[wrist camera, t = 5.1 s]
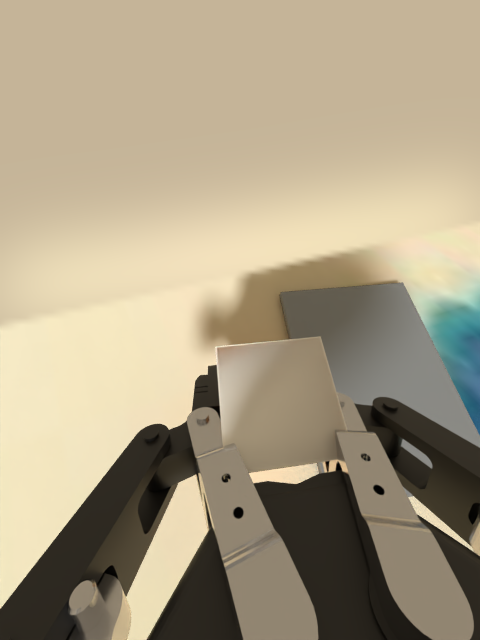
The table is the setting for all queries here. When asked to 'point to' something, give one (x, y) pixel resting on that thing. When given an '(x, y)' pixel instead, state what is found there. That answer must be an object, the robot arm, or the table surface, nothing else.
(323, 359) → the orange rectangular block
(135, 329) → the table surface
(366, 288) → the slate mat
